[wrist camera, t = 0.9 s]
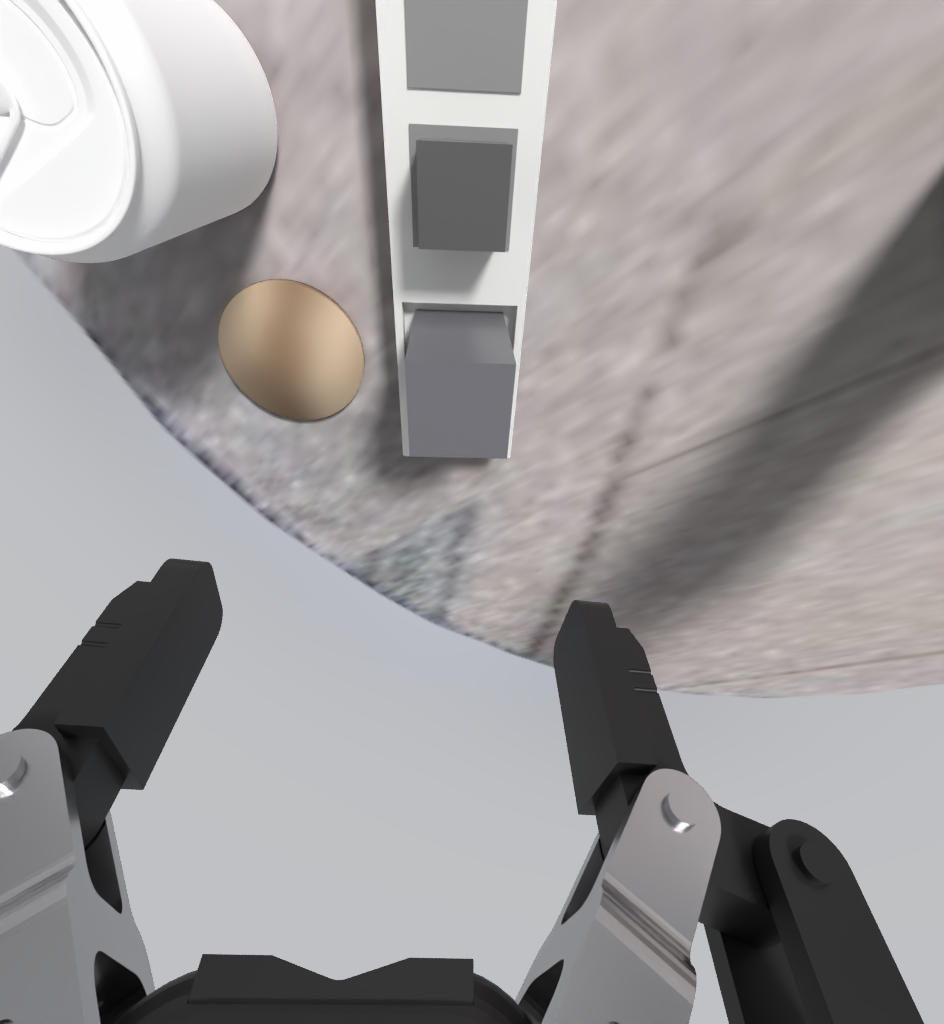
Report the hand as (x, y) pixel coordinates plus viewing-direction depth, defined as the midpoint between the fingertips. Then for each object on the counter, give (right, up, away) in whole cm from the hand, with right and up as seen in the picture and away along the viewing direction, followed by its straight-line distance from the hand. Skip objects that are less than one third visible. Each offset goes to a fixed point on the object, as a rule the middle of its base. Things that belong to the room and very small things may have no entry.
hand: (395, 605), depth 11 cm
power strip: (+1, +18, +12) cm, 22 cm away
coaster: (-9, +11, +17) cm, 22 cm away
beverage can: (-11, +20, +10) cm, 25 cm away
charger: (+1, +11, +15) cm, 19 cm away
